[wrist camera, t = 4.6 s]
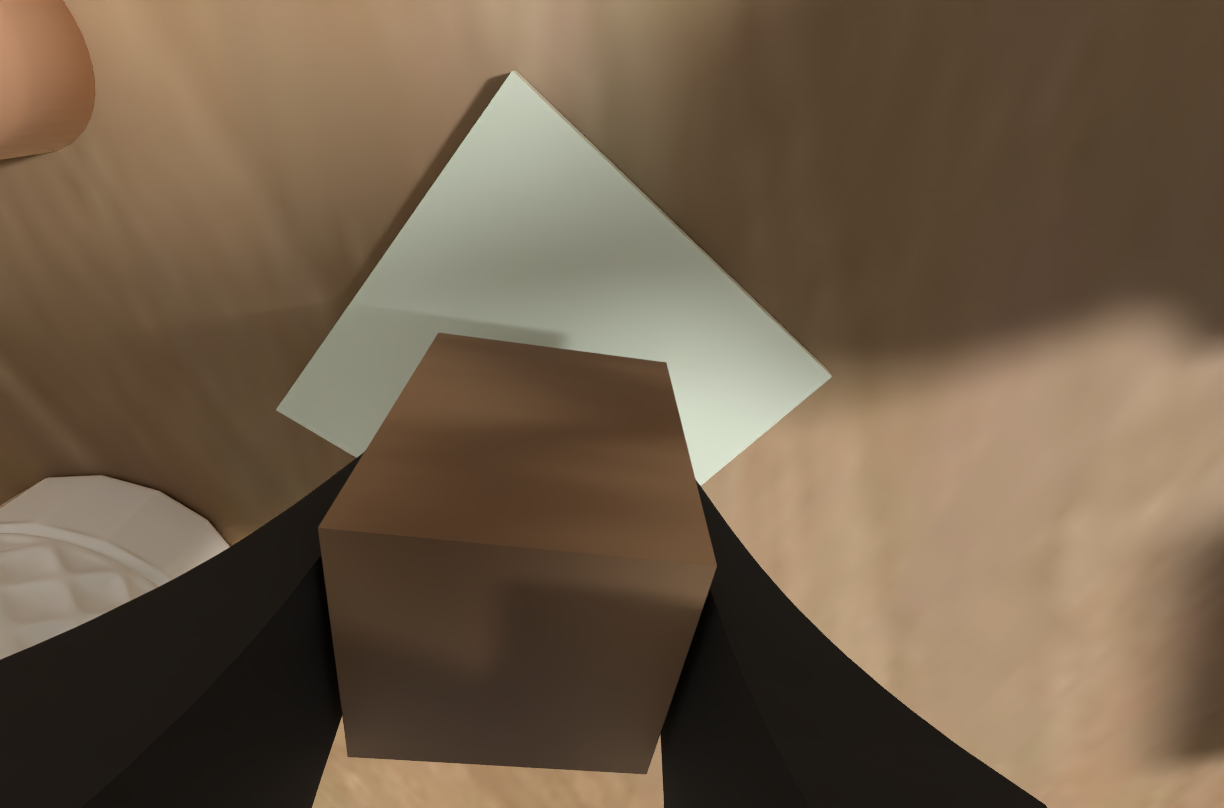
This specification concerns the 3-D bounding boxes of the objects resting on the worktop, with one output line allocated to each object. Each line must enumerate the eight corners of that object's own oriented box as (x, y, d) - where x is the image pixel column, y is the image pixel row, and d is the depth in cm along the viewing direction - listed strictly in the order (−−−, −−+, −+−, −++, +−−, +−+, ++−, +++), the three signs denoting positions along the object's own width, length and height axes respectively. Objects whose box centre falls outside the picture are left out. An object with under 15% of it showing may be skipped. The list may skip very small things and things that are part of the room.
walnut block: (666, 362, 11) (717, 565, 7) (628, 530, 14) (646, 774, 9) (438, 332, 11) (317, 528, 6) (437, 510, 13) (347, 757, 8)
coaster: (823, 366, 15) (831, 377, 14) (577, 574, 18) (576, 588, 18) (516, 70, 11) (511, 70, 11) (286, 398, 15) (275, 410, 14)
